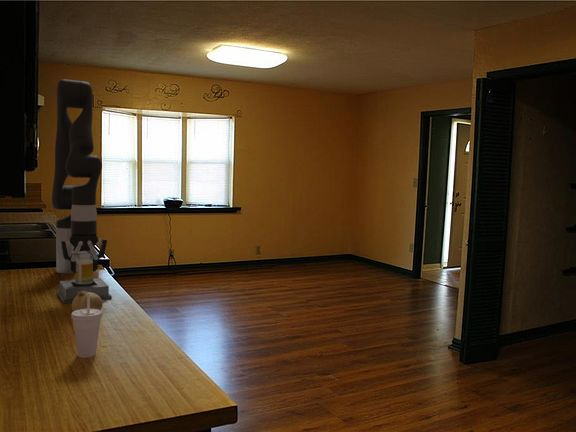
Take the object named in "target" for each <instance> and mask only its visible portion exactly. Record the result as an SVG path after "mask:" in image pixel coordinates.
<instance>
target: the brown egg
mask: <svg viewBox="0 0 576 432" xmlns="http://www.w3.org/2000/svg"><path fill="white" fill-rule="evenodd" d="M99 273H100V271H99V270H98V269H97V270H96V272H93V279H97V278H100V274H99Z"/></svg>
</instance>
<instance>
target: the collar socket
mask: <svg viewBox="0 0 576 432" xmlns="http://www.w3.org/2000/svg"><path fill="white" fill-rule="evenodd" d="M109 288H110V286H109V285H108V283H106V282H105V281H104V280H103V279H102V278H101V277H99V278H97V279H93V282H92V283H90V284H76V283H75V279H73V280H72V279H71V280H60V281H59V289H57V290H56V294H57V295H58V297H59V299H60V300H61V302H62V303H63V304H64V305H65V304H72V302H73V300H74V298H75V297H76V296H77V295H78V293H79V292H81V291H87V292H91V293H95V294H97V295H98V296H99V297H100V298H101V299H102V301H103V300H112V299H113V296H112V295H111V293H110V292H109V291H110V290H109Z"/></svg>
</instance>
